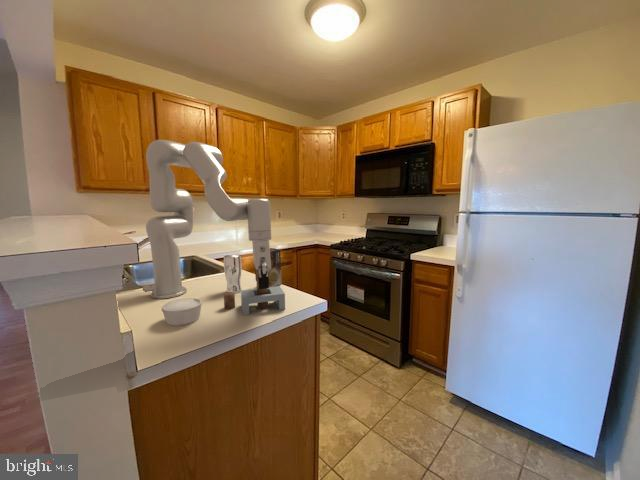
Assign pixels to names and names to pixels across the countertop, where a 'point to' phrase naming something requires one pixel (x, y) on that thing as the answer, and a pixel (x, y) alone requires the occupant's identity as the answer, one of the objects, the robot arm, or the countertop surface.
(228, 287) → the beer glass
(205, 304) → the countertop surface
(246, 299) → the hole bridge
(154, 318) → the countertop surface
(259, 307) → the tall brown wooden block
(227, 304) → the brown upright block
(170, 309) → the ramekin
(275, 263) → the coffee box
